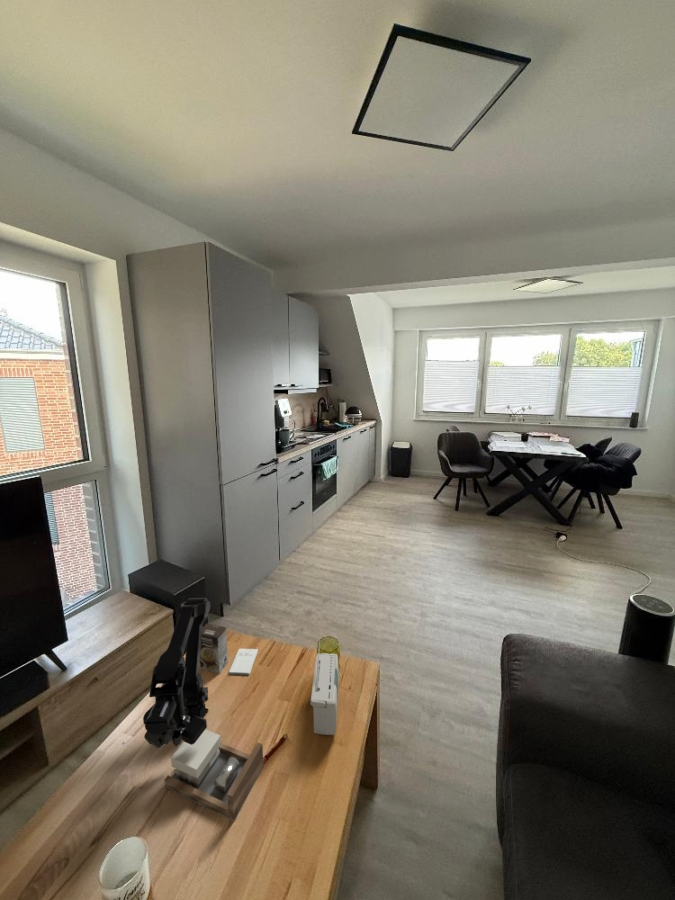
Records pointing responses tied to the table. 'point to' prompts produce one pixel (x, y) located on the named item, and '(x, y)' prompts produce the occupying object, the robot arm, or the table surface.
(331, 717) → the stereo radio cassette player
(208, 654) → the coffee box
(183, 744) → the slab
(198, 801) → the track
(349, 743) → the table surface
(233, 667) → the external hard drive
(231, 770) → the loose roller
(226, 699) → the table surface
